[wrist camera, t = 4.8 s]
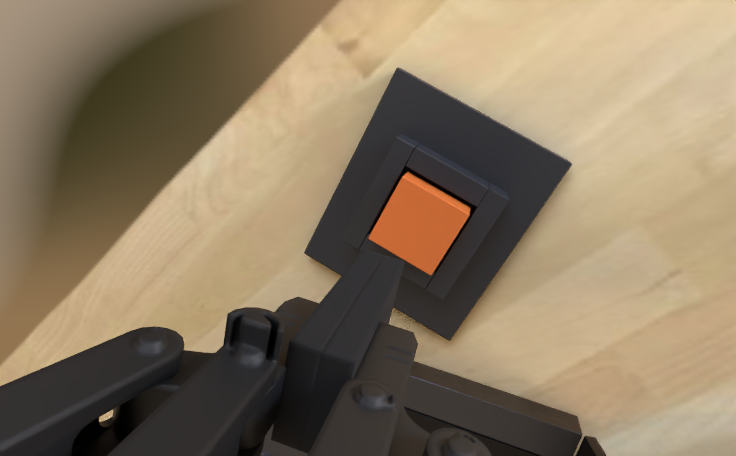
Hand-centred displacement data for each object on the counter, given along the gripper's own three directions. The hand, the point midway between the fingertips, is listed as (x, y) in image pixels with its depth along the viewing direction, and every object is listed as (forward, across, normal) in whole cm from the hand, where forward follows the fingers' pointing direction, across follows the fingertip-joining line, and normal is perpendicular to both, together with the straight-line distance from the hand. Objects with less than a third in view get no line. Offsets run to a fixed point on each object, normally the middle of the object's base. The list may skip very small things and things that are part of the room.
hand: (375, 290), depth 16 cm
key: (+11, 0, 0) cm, 11 cm away
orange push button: (+13, 0, 0) cm, 13 cm away
